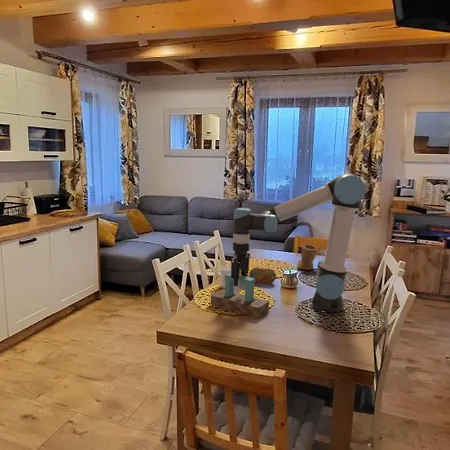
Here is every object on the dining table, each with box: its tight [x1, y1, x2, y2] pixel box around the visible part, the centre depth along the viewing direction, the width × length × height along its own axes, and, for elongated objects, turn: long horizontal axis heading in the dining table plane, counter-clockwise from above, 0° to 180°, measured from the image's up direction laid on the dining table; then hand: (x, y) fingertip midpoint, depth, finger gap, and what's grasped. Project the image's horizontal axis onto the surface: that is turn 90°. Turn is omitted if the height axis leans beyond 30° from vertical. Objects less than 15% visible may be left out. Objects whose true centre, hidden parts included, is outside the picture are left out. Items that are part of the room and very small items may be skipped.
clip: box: [224, 273, 256, 303], centre depth 189 cm, size 14×4×10 cm, turn 55°
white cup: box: [219, 266, 231, 289], centre depth 220 cm, size 8×8×10 cm
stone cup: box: [296, 244, 318, 271], centre depth 258 cm, size 15×12×15 cm
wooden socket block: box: [210, 289, 270, 319], centre depth 190 cm, size 26×10×5 cm, turn 55°
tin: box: [249, 266, 277, 285], centre depth 228 cm, size 15×3×8 cm, turn 68°
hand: (239, 290), depth 189 cm, fingers closed on clip, 4 cm apart
